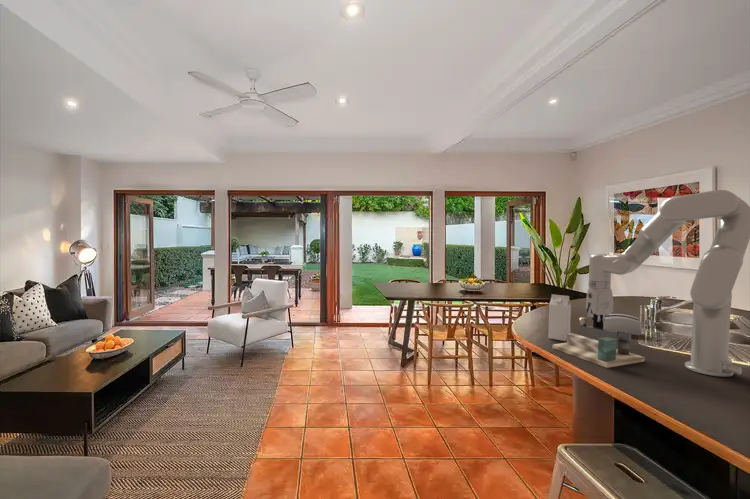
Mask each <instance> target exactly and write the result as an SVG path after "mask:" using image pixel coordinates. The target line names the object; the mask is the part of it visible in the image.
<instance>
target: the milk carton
mask: <svg viewBox="0 0 750 499" xmlns="http://www.w3.org/2000/svg"><path fill="white" fill-rule="evenodd" d="M571 307H572V302H571V300H570V296H569V295H560V294H552V293H551V296H550V301H549V305H548V339H550V340H558V341H564V342H567V334H569V333H571V315H572V314H571V312H572V308H571Z"/></svg>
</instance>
